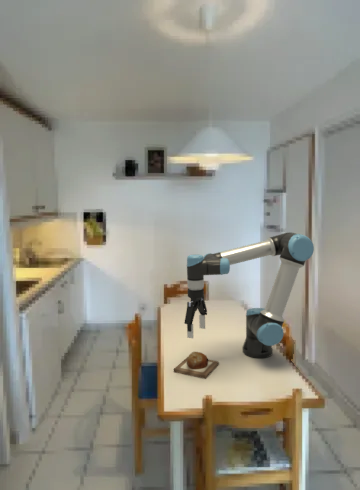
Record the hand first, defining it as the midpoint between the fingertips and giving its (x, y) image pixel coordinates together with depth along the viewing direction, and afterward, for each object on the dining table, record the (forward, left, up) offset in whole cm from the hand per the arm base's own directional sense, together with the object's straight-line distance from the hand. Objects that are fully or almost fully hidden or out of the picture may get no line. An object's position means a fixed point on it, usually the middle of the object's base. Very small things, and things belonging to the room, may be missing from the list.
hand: (196, 332), depth 175 cm
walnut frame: (0, 0, -17) cm, 17 cm away
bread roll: (0, 0, -16) cm, 16 cm away
